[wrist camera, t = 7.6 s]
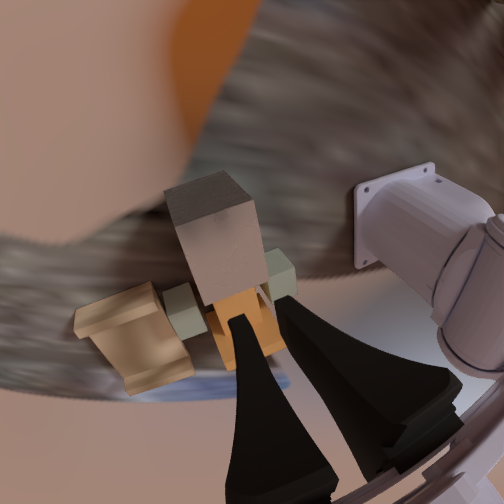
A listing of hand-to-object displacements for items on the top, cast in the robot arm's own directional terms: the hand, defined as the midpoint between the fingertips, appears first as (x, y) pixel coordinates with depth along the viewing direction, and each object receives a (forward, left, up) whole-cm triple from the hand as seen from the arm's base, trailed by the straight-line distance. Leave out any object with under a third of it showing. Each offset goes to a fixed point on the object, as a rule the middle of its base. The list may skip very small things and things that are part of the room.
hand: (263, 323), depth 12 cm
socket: (0, +5, -9) cm, 11 cm away
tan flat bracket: (+8, +7, -9) cm, 14 cm away
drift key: (0, +5, -9) cm, 10 cm away
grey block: (0, 0, -10) cm, 10 cm away
